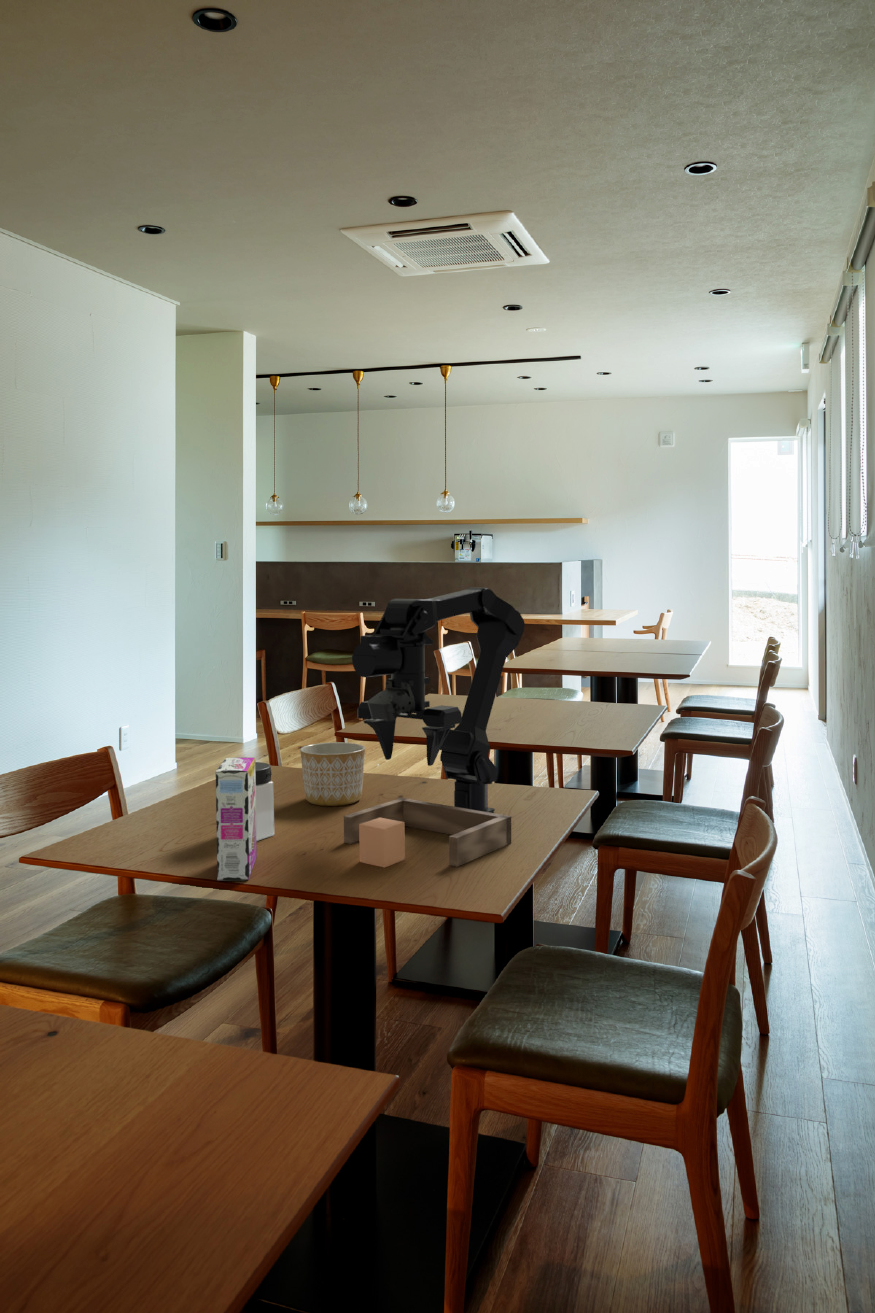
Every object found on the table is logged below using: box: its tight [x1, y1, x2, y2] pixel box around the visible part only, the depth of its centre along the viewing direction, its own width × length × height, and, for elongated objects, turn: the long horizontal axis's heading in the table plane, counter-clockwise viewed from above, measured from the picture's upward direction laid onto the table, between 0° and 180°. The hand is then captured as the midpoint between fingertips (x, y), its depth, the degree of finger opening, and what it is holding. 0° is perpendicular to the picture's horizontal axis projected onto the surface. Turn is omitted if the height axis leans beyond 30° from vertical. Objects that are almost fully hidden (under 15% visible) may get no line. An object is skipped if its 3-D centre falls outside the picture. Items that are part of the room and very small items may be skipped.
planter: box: [299, 741, 366, 807], centre depth 189 cm, size 13×13×10 cm
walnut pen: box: [343, 797, 512, 868], centre depth 160 cm, size 16×23×4 cm
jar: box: [255, 761, 275, 842], centre depth 165 cm, size 9×8×12 cm
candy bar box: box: [215, 756, 258, 882], centre depth 146 cm, size 11×5×16 cm, turn 5°
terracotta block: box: [358, 818, 406, 868], centre depth 150 cm, size 5×5×6 cm
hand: (409, 762), depth 166 cm, fingers open, 9 cm apart
